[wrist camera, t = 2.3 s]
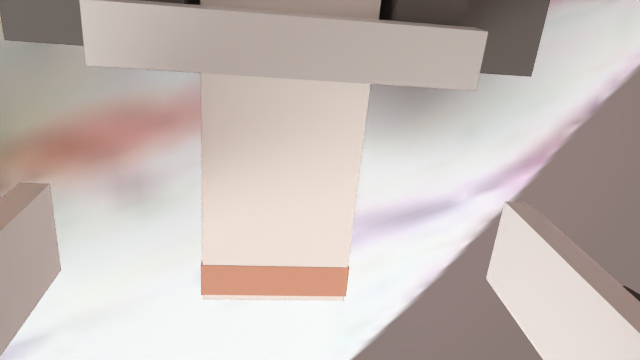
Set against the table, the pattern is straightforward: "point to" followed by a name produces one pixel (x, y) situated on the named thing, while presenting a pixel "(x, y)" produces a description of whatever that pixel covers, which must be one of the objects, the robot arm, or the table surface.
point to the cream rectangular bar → (280, 175)
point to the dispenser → (294, 39)
